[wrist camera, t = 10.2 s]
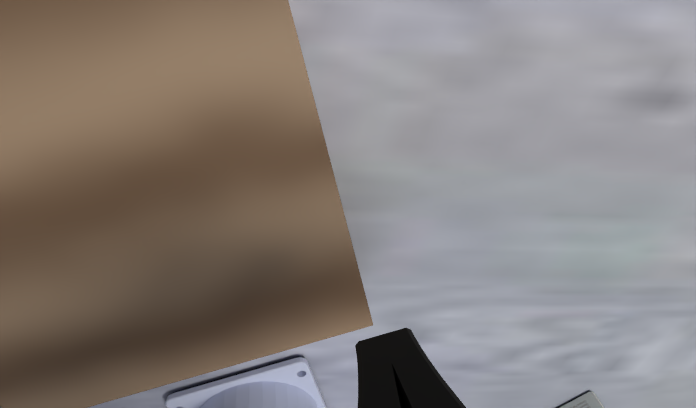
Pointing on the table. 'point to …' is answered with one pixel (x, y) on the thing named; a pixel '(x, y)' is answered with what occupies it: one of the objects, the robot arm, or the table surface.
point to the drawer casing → (160, 197)
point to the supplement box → (584, 402)
